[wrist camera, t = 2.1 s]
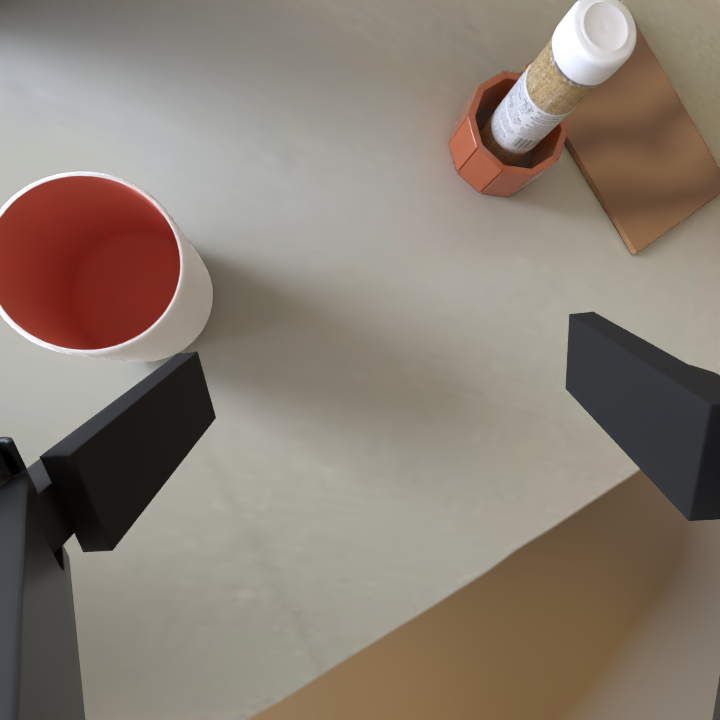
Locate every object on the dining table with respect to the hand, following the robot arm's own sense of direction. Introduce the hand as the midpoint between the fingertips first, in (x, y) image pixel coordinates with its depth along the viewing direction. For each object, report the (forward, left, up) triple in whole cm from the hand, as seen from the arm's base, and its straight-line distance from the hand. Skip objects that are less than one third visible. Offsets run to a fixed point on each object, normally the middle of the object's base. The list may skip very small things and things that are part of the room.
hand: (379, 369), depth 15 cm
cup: (-13, -8, -20) cm, 25 cm away
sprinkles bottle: (-9, +24, -20) cm, 32 cm away
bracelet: (-9, +24, -20) cm, 32 cm away
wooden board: (-4, +37, -20) cm, 42 cm away
